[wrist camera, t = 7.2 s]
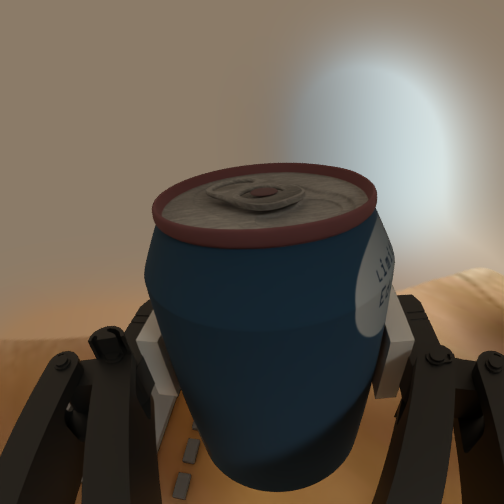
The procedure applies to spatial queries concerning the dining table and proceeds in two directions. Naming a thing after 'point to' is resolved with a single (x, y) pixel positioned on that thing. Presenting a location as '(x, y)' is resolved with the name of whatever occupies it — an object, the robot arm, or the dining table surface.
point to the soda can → (272, 313)
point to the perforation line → (188, 457)
